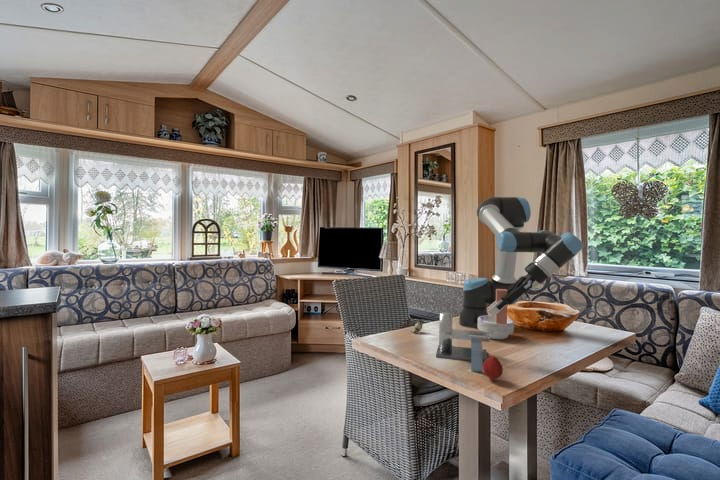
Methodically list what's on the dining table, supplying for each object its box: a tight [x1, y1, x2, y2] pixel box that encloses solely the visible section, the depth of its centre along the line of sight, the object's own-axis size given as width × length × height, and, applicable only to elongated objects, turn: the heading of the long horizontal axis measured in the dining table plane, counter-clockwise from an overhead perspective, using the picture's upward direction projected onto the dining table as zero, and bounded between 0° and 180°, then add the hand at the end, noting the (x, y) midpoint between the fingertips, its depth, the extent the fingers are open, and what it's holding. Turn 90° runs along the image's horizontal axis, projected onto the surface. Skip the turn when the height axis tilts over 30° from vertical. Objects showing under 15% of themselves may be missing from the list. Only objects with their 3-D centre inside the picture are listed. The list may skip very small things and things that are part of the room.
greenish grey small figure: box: [409, 319, 424, 335], centre depth 163 cm, size 5×5×6 cm
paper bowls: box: [477, 314, 515, 340], centre depth 158 cm, size 15×15×8 cm
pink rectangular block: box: [495, 289, 508, 324], centre depth 127 cm, size 4×4×12 cm
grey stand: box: [435, 311, 491, 373], centre depth 128 cm, size 18×22×15 cm
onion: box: [482, 354, 504, 381], centre depth 110 cm, size 6×6×8 cm
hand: (489, 312), depth 128 cm, fingers closed on pink rectangular block, 3 cm apart
